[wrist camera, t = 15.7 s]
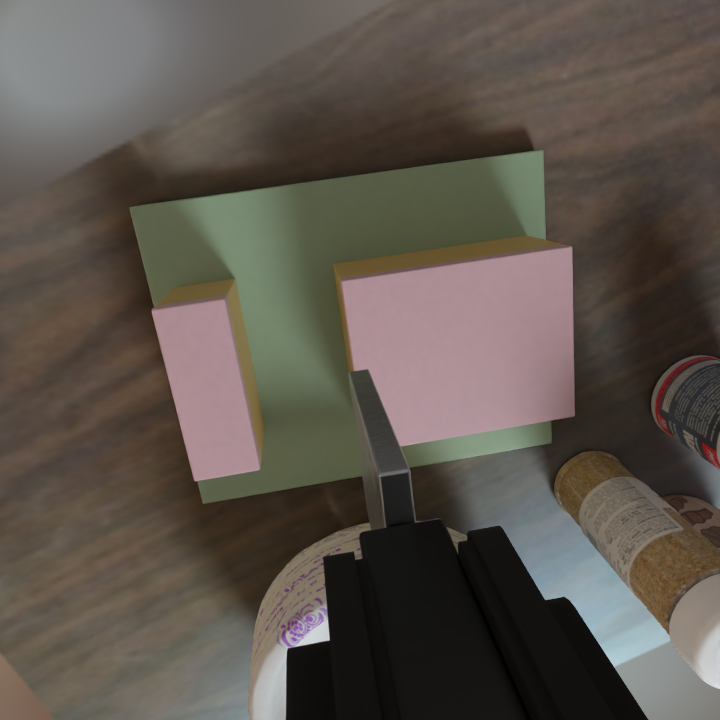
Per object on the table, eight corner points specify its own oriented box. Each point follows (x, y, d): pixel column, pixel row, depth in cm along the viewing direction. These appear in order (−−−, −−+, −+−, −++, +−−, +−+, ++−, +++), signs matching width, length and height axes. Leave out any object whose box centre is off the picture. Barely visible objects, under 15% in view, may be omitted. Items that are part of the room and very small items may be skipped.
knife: (329, 374, 16) (421, 847, 5) (386, 365, 16) (614, 806, 5) (350, 514, 17) (461, 1148, 6) (402, 505, 17) (610, 1112, 6)
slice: (174, 287, 28) (150, 309, 23) (235, 278, 28) (224, 298, 24) (208, 435, 31) (193, 482, 26) (265, 425, 31) (260, 470, 26)
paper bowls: (305, 720, 38) (309, 851, 31) (218, 537, 34) (197, 641, 26) (521, 644, 39) (576, 757, 31) (465, 452, 34) (514, 530, 26)
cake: (332, 263, 29) (341, 280, 24) (527, 235, 29) (572, 245, 25) (354, 411, 31) (365, 453, 26) (533, 381, 32) (575, 416, 27)
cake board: (134, 205, 28) (128, 206, 27) (535, 150, 29) (543, 149, 28) (205, 495, 33) (202, 504, 32) (545, 436, 34) (552, 443, 33)
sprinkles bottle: (630, 493, 36) (816, 665, 23) (564, 525, 36) (713, 713, 23) (608, 434, 35) (795, 583, 22) (539, 467, 35) (684, 635, 22)
